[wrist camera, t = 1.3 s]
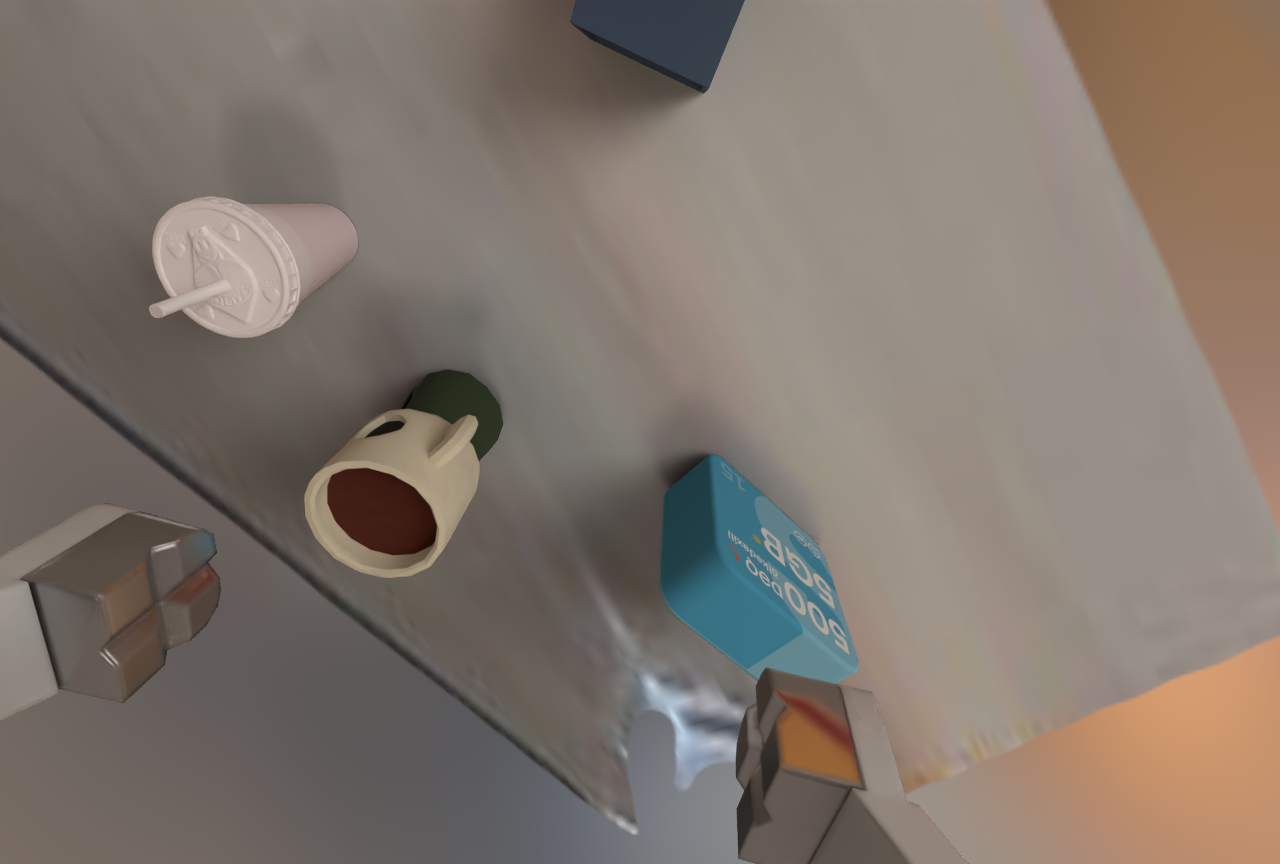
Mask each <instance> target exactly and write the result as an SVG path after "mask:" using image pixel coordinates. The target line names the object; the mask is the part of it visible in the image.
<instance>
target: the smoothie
mask: <svg viewBox="0 0 1280 864" xmlns="http://www.w3.org/2000/svg"><path fill="white" fill-rule="evenodd" d="M357 249H358V237H357V233H356V230H355V228H354V226H353V224H352V222H351V221H350V219H349V218H348V217H347V216H346V215H345V214H344V213H343V212H342V211H340V210H339V209H337V208H335V207H333V206H331V205H328V204H241V203H239V202H236V201H234V200H231V199H226V198H219V197H213V196H211V197H203V198H196V199H193V200H191V201H189V202H184V203H181V204H179V205H176V206H175V207H173V208H171V209H170V210H168V211H167V212H166V213H165V214H164V215H163V216H162V218H161V219H160V220H159V222H158V224H157V226H156V228H155V231H154V235H153V241H152V254H153V261H154V265H155V269H156V272H157V274H158V277H159V279H160V281H161V283H162V285H163V287H164V289H165V290H166V292H167V293H168V295H169V296H170V297H171V298H170V299H167V300H164V301H161V302H158V303H156V304H153V305H151V306H150V307H149V311H150V313H151V314H152V315H153V316H154V317H156V318H161V317H164V316H166V315H169V314H172V313H174V312H177V311H179V310H182V311H183V312H184V313H185V314H186V315H187V316H189V317H190V318H191V319H193V320H194V321H195V322H197V323H198V324H200V325H201V326H203V327H205V328H207V329H209V330H211V331H213V332H216V333H218V334H221V335H225V336H229V337H236V338H250V337H256V336H259V335H262V334H264V333H267V332H269V331H271V330H274V329H276V328H278V327H281V326H282V325H283V324H284V323H285V322H286V321H287V320H288V319H289V318H290V317H292V315H293V313H294V311H295V309H296V307H297V305H298V304H299V303H300V302H301V301H302V300H304V299H305V298H306V297H307V296H309V295H310V294H311V293H312V292H313V291H315V290H316V289H317V288H318V287H320V286H321V285H322V284H323V283H325V282H326V281H327V280H328V279H330V278H331V277H332V276H333V275H335V274H336V273H337V272H338V271H339V270H341V269H342V268H343V267H344V266H346V265H347V264H348V263H349V262H351V261H352V260H353V258H354V257H355V255H356V253H357Z"/></svg>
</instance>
